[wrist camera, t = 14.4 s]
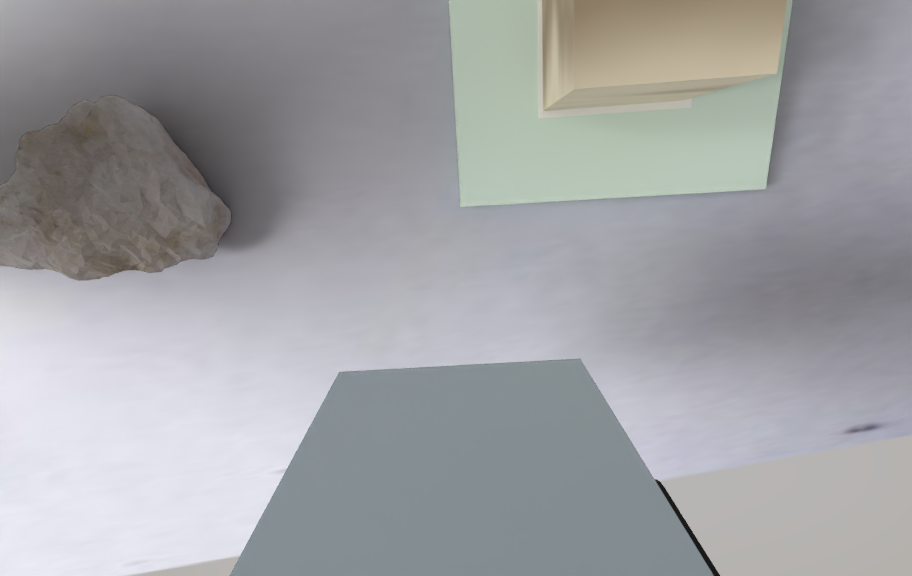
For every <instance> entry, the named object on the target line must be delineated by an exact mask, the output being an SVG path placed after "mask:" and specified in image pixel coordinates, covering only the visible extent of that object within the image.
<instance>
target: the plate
mask: <svg viewBox="0 0 912 576" xmlns="http://www.w3.org/2000/svg"><path fill="white" fill-rule="evenodd" d="M792 3H793V0H787V3H786V11H785V18H784V25H783V33H782V40H781V47H780V55H779V62H778V69H777V74H773V75H770V76H766V77H763V78H759V79H756V80H752V81H749V82H745V83H742V84H738V85H735V86H731V87H728V88H724V89H721V90H717V91H714V92H710V93H707V94H703V95H700V96H696V97H693V98H689V99H686V100H682V101H669V102H655V103H642V104H629V105H616V106H602V107H589V108H576V109H562V110H549V111H543V49H542V0H449V17H450V35H451V52H452V69H453V86H454V104H455V121H456V138H457V155H458V173H459V190H460V207H471V206H488V205H505V204H522V203H539V202H556V201H574V200H591V199H608V198H625V197H642V196H659V195H676V194H693V193H710V192H727V191H745V190H762V189H766V184H767V177H768V170H769V163H770V156H771V149H772V142H773V135H774V128H775V121H776V114H777V107H778V100H779V93H780V86H781V80H782V73H783V66H784V59H785V52H786V45H787V38H788V31H789V24H790V17H791V10H792Z"/></svg>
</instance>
